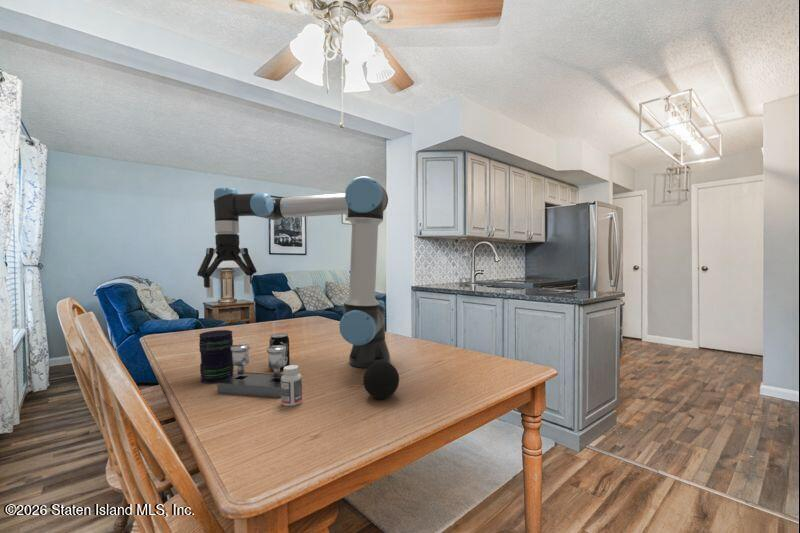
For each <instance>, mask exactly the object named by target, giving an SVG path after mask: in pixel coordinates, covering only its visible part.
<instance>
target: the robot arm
mask: <svg viewBox="0 0 800 533" xmlns="http://www.w3.org/2000/svg"><path fill="white" fill-rule="evenodd" d="M387 193H388V192H387V191H386V189H385V188H384V187H383V186H382V185H381V183H380V182H379V181H378V180H376V179H375V178H372V177H370V176H357V177H355V178H353V179H352V180H351V181H349V183H348V184H347V186H346V187H345V191H344V192H342V193H329V194H316V195H303V196H301V195H300V196H289V197H278V198H277V197H275V198H274V197H271V195H270V194H269V193H265V192H256V193H255V192H254V193H239V192H238V189H235V188H232V187H218V188H215V189H214V192H213V194H214V195H213V207H214V208H213V209H214V230H215V231H214V232H215V233H216V234H215V236H214V238H215V240H214V241H215V248H213V247H207V248H206V249H205V250H206V251H205V256H204V258H203V260H202V263H201V265H200V267H199V269H198V271H197V274H196V275H197V276H198V277H201V278H203V287H204V288H206V298H209V299H210V298H211V299H212V298H214V281H213V280H214V279H213V277H211V276H212V275H213V273H215V271H216V270H217V268H218V267H219V266H220V264H221V263H223V262H229V261H230V262H232V261H233V262H234V263H236V265H237V266H238V267H239V268H240V270H241V271H242V272H244V274H245V275H243V292H244V294H251V284H252V283H253V281H252V280H253V277H252V276H253V275H254V274H256V273H257V272H258V271H257V269H256V266H255V265H254V263H253V261H252V259H251V257H250V254H249V249H248V247H241V248H240V235H239V233H240V222H239V220H240V219H239V217H258V218H264V219H266V220H267V219H268V220H271V221H279V220H281V219H290V218H305V217H307V218H308V217H319V216H321V217H322V216H323V217H324V216H338V215H347V220H348V221H349V222H350V223H351V237H350V238H351V240H350V241H351V242H350V264H349V288H348V297H347V298H346V299H345V300H344V301H343V315H342V316H341V319H340V320H339V326H338V328H339V332H340V333H339V334H341V337H342V338H343V339H344V341H346V342H347V343H348V344H351V350H350V353H349V356H348V363H349V365H350V366H352V367H356V368H363V369H367V368H368V367H369V366H370V365H371V364H373V363H375V362H378V361H385V362H388V363H390V364H391V354H390V351H389V348H388V345H387V343H386V307H385V301H384V300H379V299H377V298H376V282H377V258H378V235H379V234H378V233H379V225H380V224H381V223H383V221H384V212H385V210H386V209H387V207H388V204H389V196H388V194H387ZM215 254H216V257H214V255H215ZM239 254H240V255H241V256H242V258H241V256H240V255H239ZM213 257H214V260H213V261H212V259H213ZM211 261H212V263H211ZM210 263H211V264H210Z"/></svg>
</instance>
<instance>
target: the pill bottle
mask: <svg viewBox="0 0 800 533" xmlns="http://www.w3.org/2000/svg"><path fill="white" fill-rule="evenodd" d="M299 369H300V368H299V365H297V364H291V365H289V366H285V367H284V368H283V371H282V372H283V374H284V375H283V376H282V377H281V395H282V397H281V405H283V406H285V407H294V406H298V405H300V404H301V403H302V401H303V384H302V383H303V382H302V381H303V380H302V374H300V373H299V372H300V370H299Z"/></svg>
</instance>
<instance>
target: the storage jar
mask: <svg viewBox="0 0 800 533" xmlns="http://www.w3.org/2000/svg"><path fill="white" fill-rule="evenodd" d="M198 344H199V353H200V364H199V371H200V377H201V378H200V382H201V383H203V384H217V383H218V382H220V381H222V380H224V379H226V378H228V377H230V376H232V375H234V374H235V373H234V369H235V368H234V367H235V366H234V365H232V351H231V346H233V345H234V339H233V331H232V330H229V329H228V330H226V329H220V330H219V329H217V330H211V331H205V332H201V333H199V343H198Z"/></svg>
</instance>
